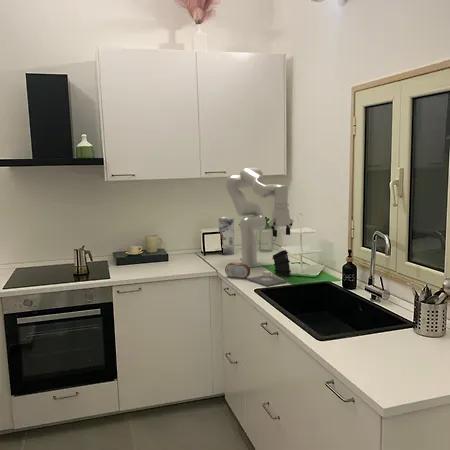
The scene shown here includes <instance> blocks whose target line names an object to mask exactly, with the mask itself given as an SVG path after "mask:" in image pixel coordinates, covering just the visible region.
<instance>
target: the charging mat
mask: <svg viewBox="0 0 450 450" xmlns="http://www.w3.org/2000/svg"><path fill="white" fill-rule="evenodd" d="M246 278H247V279H246V280H247V281H249V282H252V283H255V284H256V285H257V284H258V285H260V286H263V287H265V288H268V287H273V286H278V285H283V284H287V283H288V280H285V279H282V278H280V277H275V276H273V275H272V271H270V270H264V271H262V275H258V276H253V277H246Z"/></svg>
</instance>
